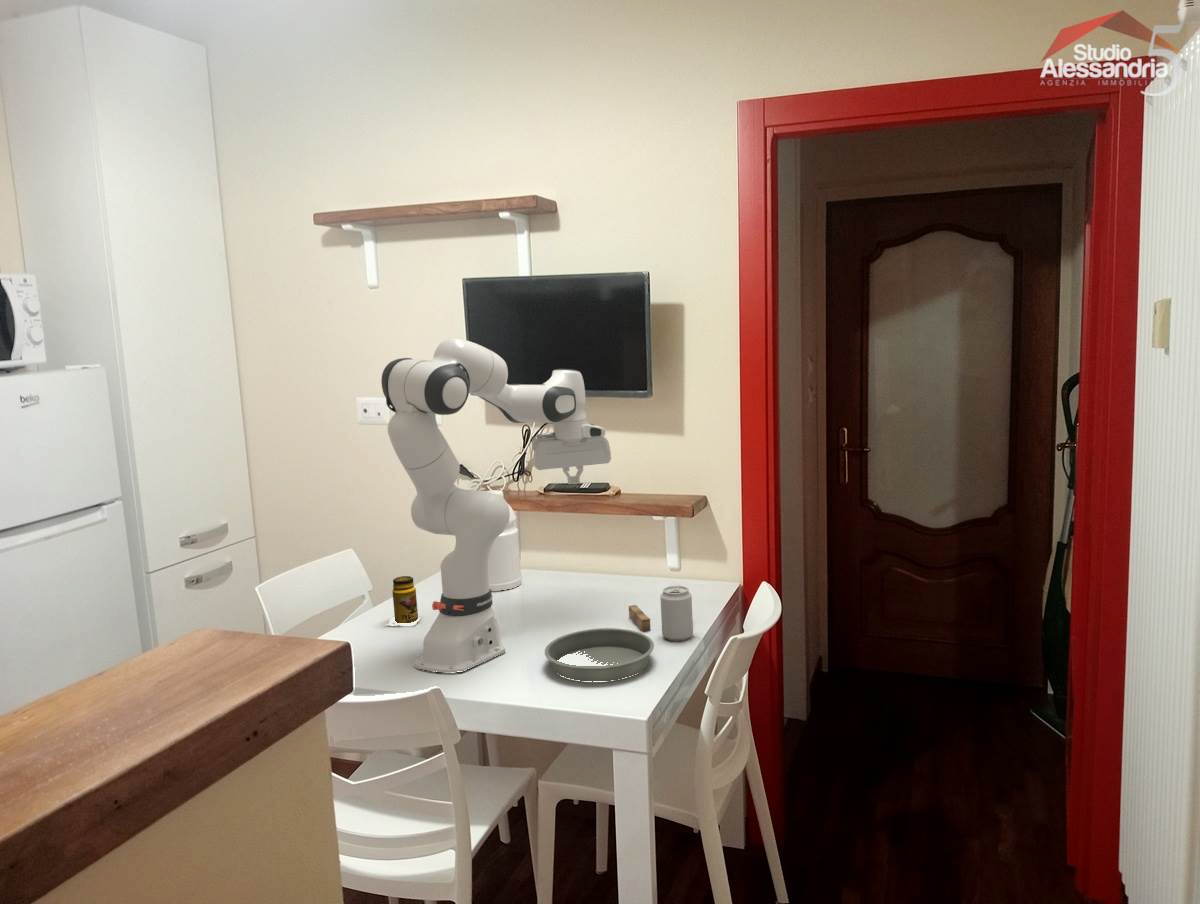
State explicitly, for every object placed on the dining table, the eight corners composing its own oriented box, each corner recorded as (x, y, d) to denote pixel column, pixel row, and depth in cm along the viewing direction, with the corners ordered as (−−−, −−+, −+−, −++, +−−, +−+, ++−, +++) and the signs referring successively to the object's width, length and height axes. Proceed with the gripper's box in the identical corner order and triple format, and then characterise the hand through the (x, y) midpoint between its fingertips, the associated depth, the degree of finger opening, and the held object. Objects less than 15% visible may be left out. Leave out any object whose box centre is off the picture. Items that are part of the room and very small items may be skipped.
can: (659, 641, 224) (657, 593, 223) (664, 631, 232) (662, 583, 230) (691, 642, 223) (689, 593, 221) (695, 631, 230) (693, 584, 228)
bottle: (508, 575, 288) (502, 485, 284) (530, 585, 277) (524, 491, 272) (466, 585, 281) (459, 492, 276) (487, 595, 269) (480, 499, 265)
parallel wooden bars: (629, 617, 243) (628, 605, 243) (677, 610, 246) (676, 599, 246) (642, 631, 232) (642, 620, 231) (692, 624, 235) (692, 613, 234)
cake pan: (571, 642, 228) (570, 624, 228) (668, 650, 219) (668, 631, 219) (527, 681, 206) (525, 661, 205) (633, 692, 197) (632, 671, 196)
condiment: (415, 626, 246) (411, 581, 244) (383, 627, 247) (379, 582, 245) (423, 617, 253) (419, 573, 251) (392, 618, 254) (388, 574, 252)
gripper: (533, 435, 239) (536, 489, 242) (611, 428, 244) (614, 481, 246) (528, 433, 246) (532, 485, 248) (604, 426, 250) (607, 477, 252)
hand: (573, 483), depth 247 cm, fingers closed
